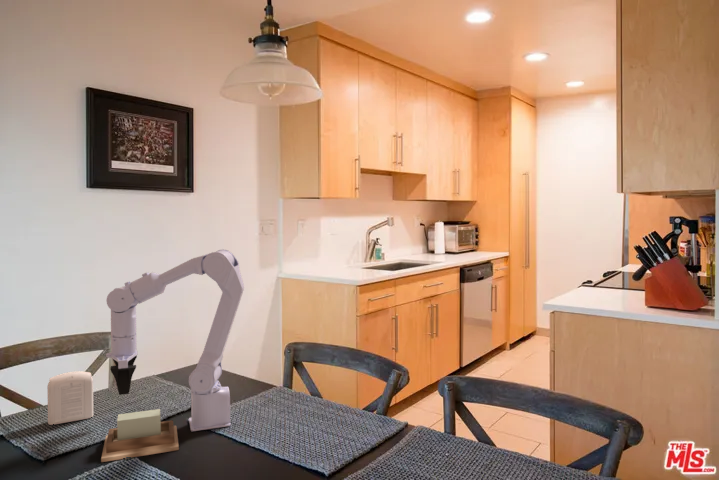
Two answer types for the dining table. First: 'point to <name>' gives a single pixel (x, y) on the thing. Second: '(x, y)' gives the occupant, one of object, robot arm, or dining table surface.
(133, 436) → the beige block
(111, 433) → the slot board
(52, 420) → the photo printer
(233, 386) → the dining table surface
